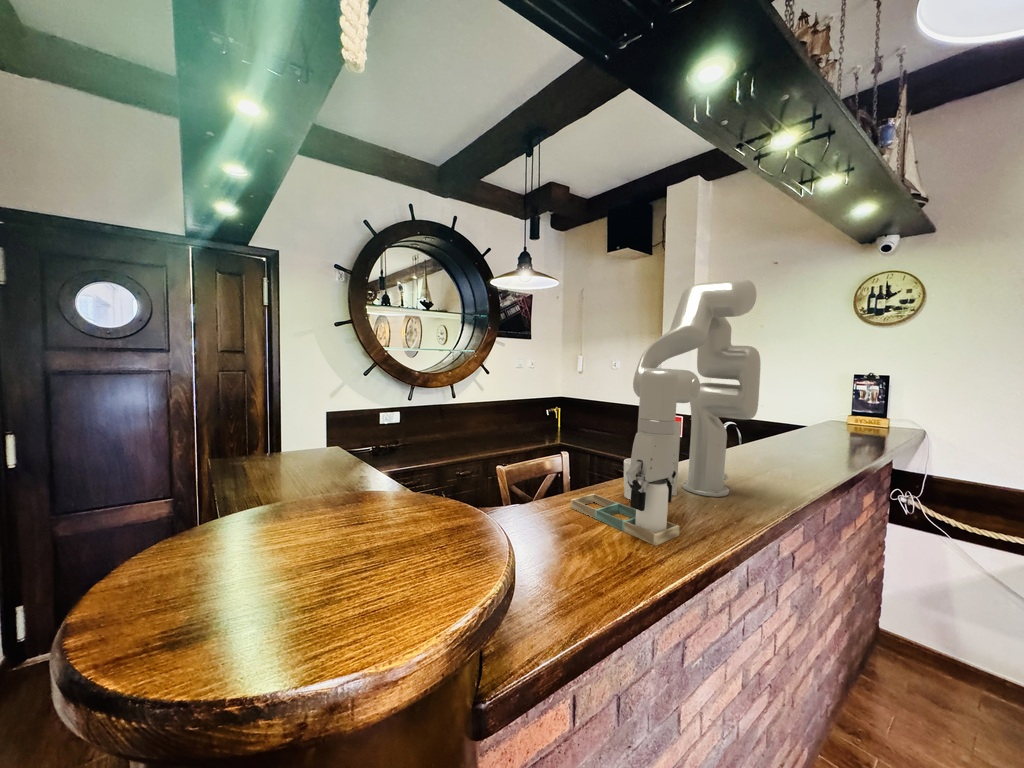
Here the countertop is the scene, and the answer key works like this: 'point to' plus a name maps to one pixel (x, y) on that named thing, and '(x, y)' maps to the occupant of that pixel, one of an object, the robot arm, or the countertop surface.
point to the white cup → (626, 486)
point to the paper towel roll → (676, 453)
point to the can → (654, 507)
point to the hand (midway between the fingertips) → (651, 504)
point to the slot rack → (625, 526)
